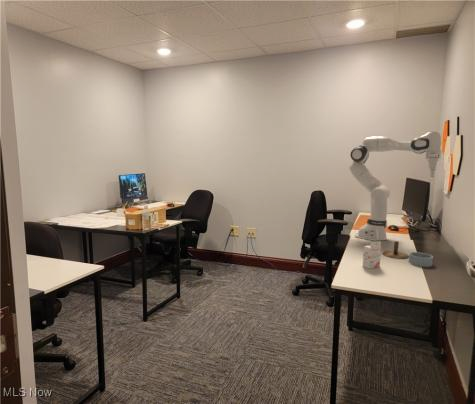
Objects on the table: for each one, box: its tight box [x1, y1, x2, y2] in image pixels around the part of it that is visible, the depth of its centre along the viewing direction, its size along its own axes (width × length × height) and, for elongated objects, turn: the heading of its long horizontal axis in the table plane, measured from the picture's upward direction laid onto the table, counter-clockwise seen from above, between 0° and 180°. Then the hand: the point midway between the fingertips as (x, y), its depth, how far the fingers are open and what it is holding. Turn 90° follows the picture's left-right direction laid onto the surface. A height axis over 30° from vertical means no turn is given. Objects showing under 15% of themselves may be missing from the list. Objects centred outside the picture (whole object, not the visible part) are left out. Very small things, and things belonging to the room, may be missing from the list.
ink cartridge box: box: [362, 240, 382, 269], centre depth 189 cm, size 9×5×15 cm, turn 117°
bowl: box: [408, 251, 434, 268], centre depth 197 cm, size 12×12×5 cm
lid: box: [381, 240, 409, 260], centre depth 213 cm, size 15×15×9 cm
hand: (432, 176), depth 231 cm, fingers open, 8 cm apart
